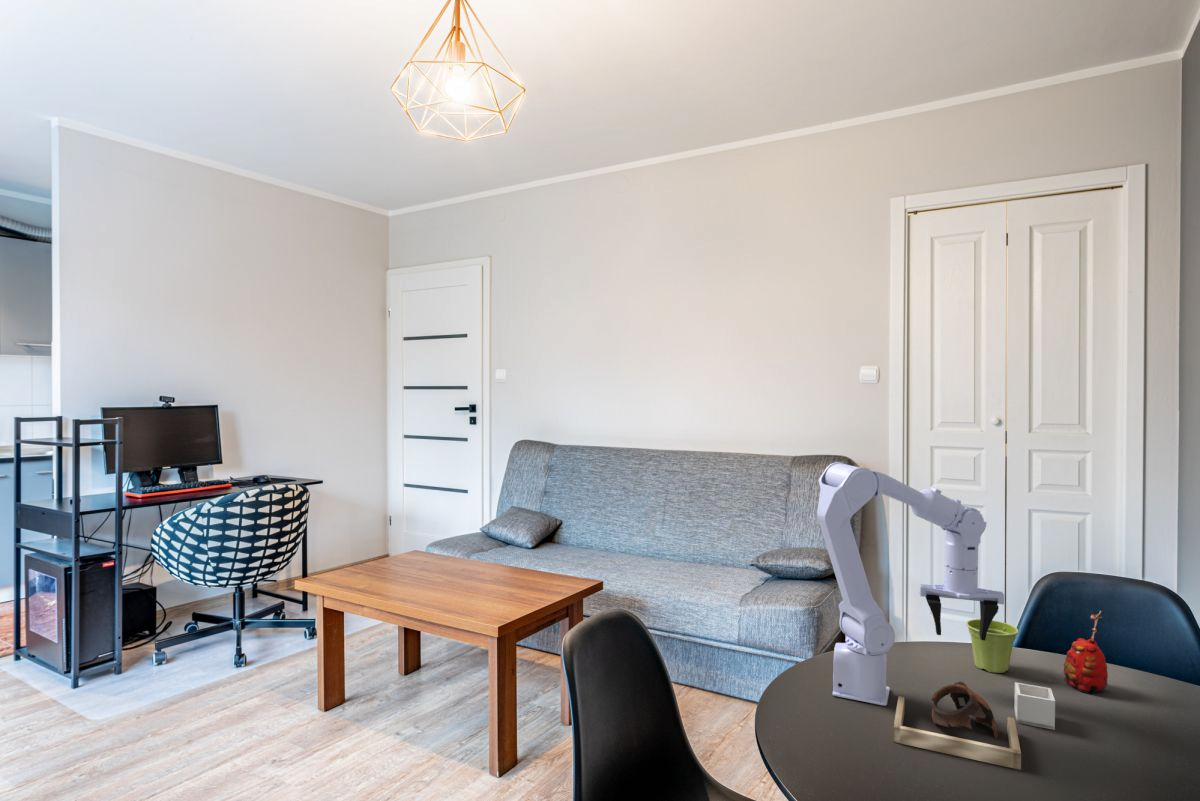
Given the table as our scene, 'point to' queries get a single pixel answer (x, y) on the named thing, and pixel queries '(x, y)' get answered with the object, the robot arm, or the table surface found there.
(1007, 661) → the plant pot
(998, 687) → the table surface
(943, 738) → the birch bay
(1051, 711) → the white square open box
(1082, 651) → the red clay folk toy
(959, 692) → the brown hollow curved piece
